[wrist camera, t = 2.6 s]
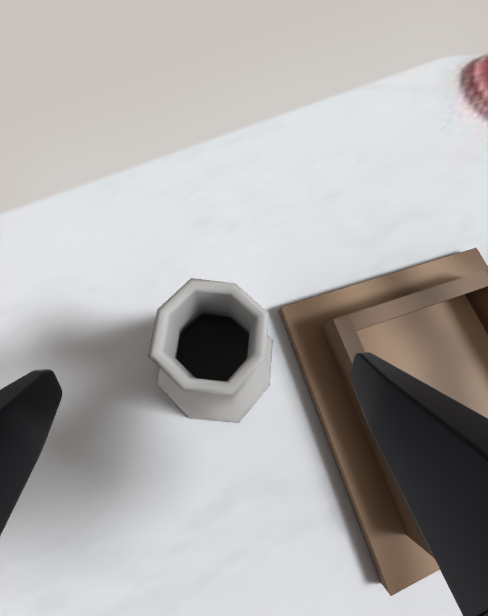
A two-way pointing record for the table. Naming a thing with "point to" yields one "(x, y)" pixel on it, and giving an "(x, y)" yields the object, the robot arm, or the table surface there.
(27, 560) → the table surface
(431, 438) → the robot arm
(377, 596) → the table surface
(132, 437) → the table surface
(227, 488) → the table surface
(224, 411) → the flask
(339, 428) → the holder
